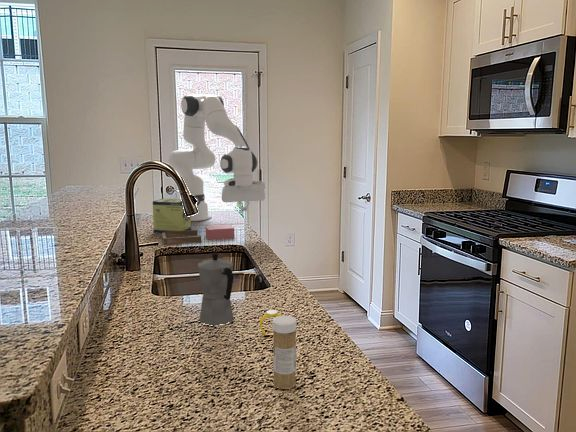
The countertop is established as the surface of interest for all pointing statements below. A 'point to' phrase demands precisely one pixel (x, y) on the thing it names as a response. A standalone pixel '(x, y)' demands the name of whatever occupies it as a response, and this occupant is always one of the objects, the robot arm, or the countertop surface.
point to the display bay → (181, 239)
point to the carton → (219, 232)
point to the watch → (271, 314)
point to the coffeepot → (216, 290)
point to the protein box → (170, 216)
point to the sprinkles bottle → (284, 351)
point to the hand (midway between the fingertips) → (243, 210)
